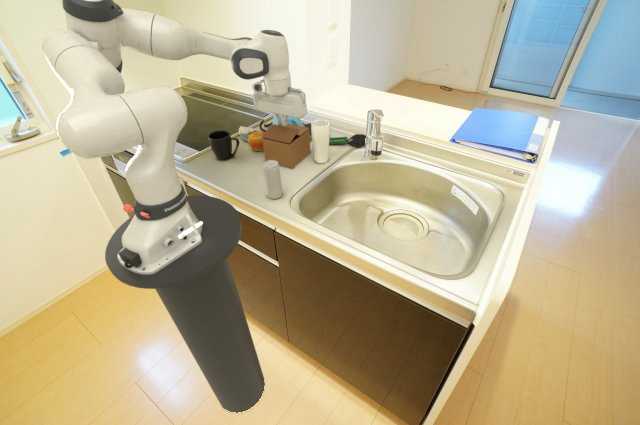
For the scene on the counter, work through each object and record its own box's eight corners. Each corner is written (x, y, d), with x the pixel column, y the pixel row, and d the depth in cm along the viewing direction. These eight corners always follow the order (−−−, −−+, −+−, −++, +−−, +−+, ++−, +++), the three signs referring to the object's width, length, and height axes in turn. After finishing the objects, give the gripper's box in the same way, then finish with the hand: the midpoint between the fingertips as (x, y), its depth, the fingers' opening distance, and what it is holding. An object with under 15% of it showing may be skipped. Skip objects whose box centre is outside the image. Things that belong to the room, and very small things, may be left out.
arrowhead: (259, 133, 140) (250, 127, 147) (258, 129, 139) (249, 122, 145) (242, 138, 137) (234, 131, 143) (241, 133, 135) (232, 127, 142)
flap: (289, 143, 110) (289, 143, 110) (262, 137, 115) (261, 136, 114) (298, 130, 113) (298, 129, 113) (271, 124, 118) (271, 123, 117)
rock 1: (237, 135, 135) (246, 130, 137) (238, 139, 136) (247, 134, 139) (251, 142, 130) (260, 137, 133) (252, 146, 132) (260, 141, 135)
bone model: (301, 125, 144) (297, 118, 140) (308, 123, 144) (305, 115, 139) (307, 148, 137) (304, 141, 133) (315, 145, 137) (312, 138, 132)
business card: (345, 143, 128) (347, 137, 132) (345, 142, 128) (347, 136, 132) (325, 144, 131) (327, 138, 134) (325, 144, 131) (327, 138, 134)
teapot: (281, 101, 140) (309, 111, 130) (283, 124, 147) (310, 135, 137) (258, 109, 133) (287, 121, 123) (262, 133, 140) (289, 145, 130)
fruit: (251, 134, 132) (252, 123, 124) (271, 141, 133) (273, 130, 126) (245, 150, 128) (245, 140, 121) (265, 157, 130) (267, 148, 122)
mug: (236, 165, 119) (230, 142, 113) (209, 160, 123) (203, 137, 117) (247, 155, 125) (242, 132, 119) (221, 150, 128) (216, 128, 123)
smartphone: (329, 136, 136) (317, 123, 148) (329, 134, 136) (317, 121, 147) (313, 139, 135) (302, 125, 146) (312, 137, 134) (302, 124, 145)
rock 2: (358, 140, 135) (360, 151, 134) (345, 140, 131) (347, 151, 130) (371, 131, 127) (374, 143, 126) (358, 130, 123) (360, 142, 123)
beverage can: (285, 196, 103) (281, 164, 95) (272, 201, 101) (267, 169, 93) (278, 189, 106) (274, 158, 98) (265, 194, 104) (260, 162, 96)
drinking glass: (309, 163, 119) (307, 125, 110) (316, 155, 124) (315, 118, 115) (326, 166, 117) (326, 128, 108) (332, 157, 122) (332, 120, 113)
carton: (292, 168, 116) (289, 143, 110) (265, 161, 121) (261, 136, 114) (310, 152, 126) (309, 127, 120) (285, 146, 130) (282, 122, 124)
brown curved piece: (258, 137, 144) (278, 140, 142) (255, 128, 139) (276, 131, 137) (268, 117, 151) (288, 120, 148) (266, 108, 146) (286, 111, 144)
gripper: (309, 87, 103) (311, 127, 112) (259, 79, 111) (264, 117, 119) (299, 92, 99) (302, 134, 107) (247, 84, 106) (254, 123, 115)
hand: (281, 125), depth 113 cm, fingers closed
